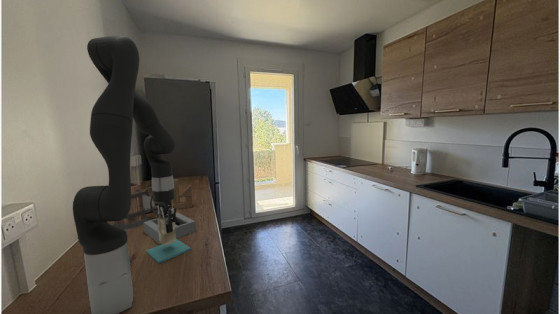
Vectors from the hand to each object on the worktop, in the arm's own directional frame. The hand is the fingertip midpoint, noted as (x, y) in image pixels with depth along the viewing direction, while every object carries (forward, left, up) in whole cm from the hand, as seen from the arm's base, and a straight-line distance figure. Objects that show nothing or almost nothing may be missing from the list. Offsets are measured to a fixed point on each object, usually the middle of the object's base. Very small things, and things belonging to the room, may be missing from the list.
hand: (166, 230), depth 88 cm
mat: (0, 0, -9) cm, 9 cm away
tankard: (+43, -3, -9) cm, 44 cm away
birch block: (0, 0, -5) cm, 5 cm away
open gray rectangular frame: (+17, -8, -9) cm, 21 cm away
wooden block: (+45, -28, -9) cm, 54 cm away
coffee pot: (+61, -13, -9) cm, 63 cm away
